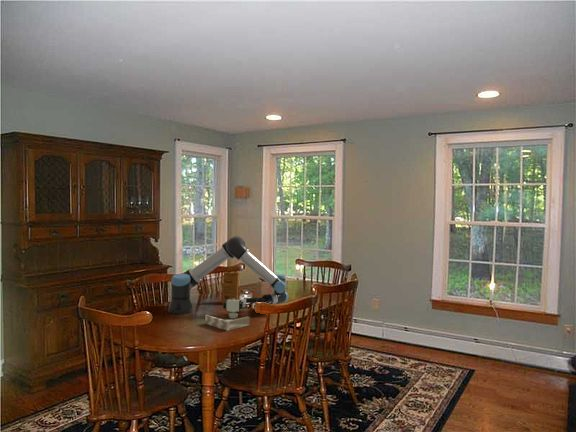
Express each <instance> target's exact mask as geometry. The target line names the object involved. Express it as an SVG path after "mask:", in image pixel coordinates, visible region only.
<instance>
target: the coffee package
mask: <svg viewBox="0 0 576 432" xmlns="http://www.w3.org/2000/svg"><path fill="white" fill-rule="evenodd" d="M239 274H240V273H239V271H236V272H227V271H223V277H222V289H221V296H220V297H221V301H220V302H221V305H222V304H224V301H225V302H226V300H227V299H232V300H233V298H234V300H240V299H239V276H240V275H239Z"/></svg>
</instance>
